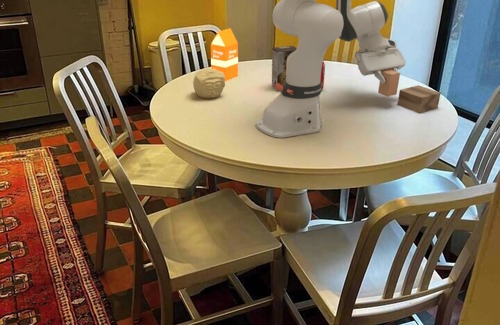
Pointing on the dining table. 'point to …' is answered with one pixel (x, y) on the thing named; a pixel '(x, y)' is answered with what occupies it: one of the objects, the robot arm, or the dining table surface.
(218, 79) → the sculpture
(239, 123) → the dining table surface
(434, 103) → the walnut box
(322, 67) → the soda can
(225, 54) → the orange juice
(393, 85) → the salmon pink block
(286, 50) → the coffee box
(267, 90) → the dining table surface
